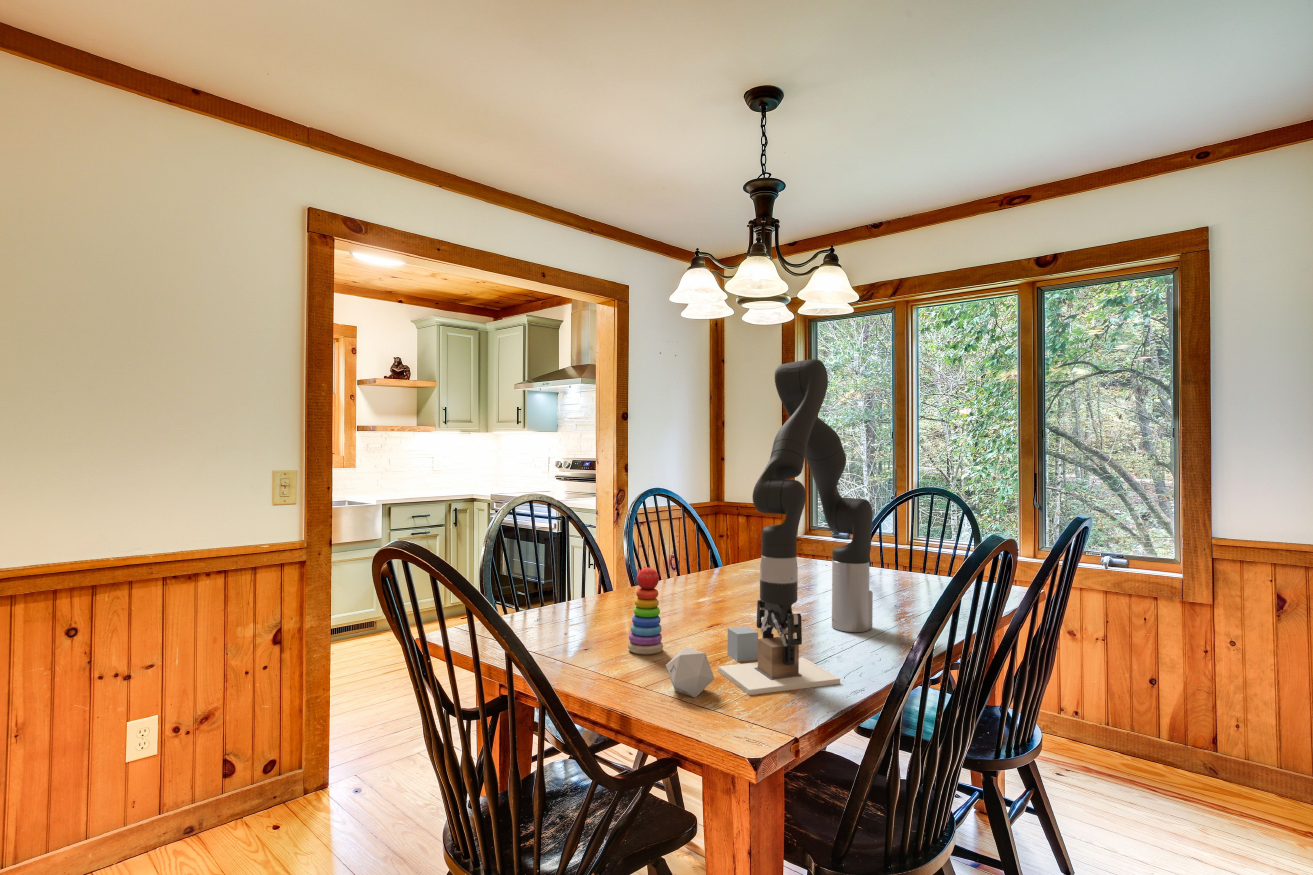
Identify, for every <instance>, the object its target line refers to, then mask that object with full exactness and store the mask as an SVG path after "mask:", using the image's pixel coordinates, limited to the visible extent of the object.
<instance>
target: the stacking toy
mask: <svg viewBox="0 0 1313 875" xmlns="http://www.w3.org/2000/svg"><path fill="white" fill-rule="evenodd" d="M659 580H660V576H659V573H658V571H656V570H655V569H654V568H652V567H644V568H641V569H640V570H639V571H638V573H637V575H636V582H637V584H638V586H639V587H640V588H638V589H637V590H636V592H635V594H636V597H637V598H635V600H634V605H635V607H634V608H633V613H634V615H633V616H632V619H631V621H632V625H631V626H630V633H629V635H628V640H629V642H628V644H627V649H628V650H629V651H630V652H631V653H633V654H637V655H643V656H645V655H646V656H647V655H655V654H659V653H660V652H661V651H662V650H663V648H664V644H663V642H662V639H663V636H662V634H661V633H662V630H663V628H662V626H661V624H660V623H661V617H660V616H659V615H660V614H661V610H660V607H659V599H658V596H659V591H658V590H657V589H656V587H657V586H658V584H659V583H660V582H659Z"/></svg>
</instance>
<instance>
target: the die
mask: <svg viewBox="0 0 1313 875" xmlns="http://www.w3.org/2000/svg"><path fill="white" fill-rule="evenodd" d="M710 664H711V663H709V659H708V657H707V654H706V652H703V651H700V650H696V649H692V648H689V647H684V648H683V649H682V650H680V652H678V653H676V655H675V656H674V657H673V658H672V659H671V660H670V661H669V662H668V663H666V664H665V667H666V670H667V673H668V676H669V678H670V681H671V684H672V687H673V690H674V691H675V692H678V693H681V694H683V695H686V696H689V697H693V698H696V697H697V696H699V695H700V694H701V693H702V692H703V690H705V689H706V688H707V687H708V686H709V685H710V684H711V683H712V682H713V681H714V680H715V676H714V673H713V671H712V667H711V665H710Z"/></svg>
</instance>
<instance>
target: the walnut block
mask: <svg viewBox="0 0 1313 875" xmlns="http://www.w3.org/2000/svg"><path fill="white" fill-rule="evenodd" d="M787 640H788V637H787ZM783 646H784V645H783V641H782V638H781V636H776V637H775V636H774V637H773V638H763V637H762V638H758V660H757V662H758V669H760V670H761V671H763V672H764V673H765V674H767V675H768V676H770V677H771V678H775V677H783V676H792V675H799V658H800V645H796V646H795V663H794V664H793V665H785V664H783Z"/></svg>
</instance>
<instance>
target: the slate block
mask: <svg viewBox="0 0 1313 875" xmlns="http://www.w3.org/2000/svg"><path fill="white" fill-rule="evenodd" d="M758 639H759V632H758V631H757V630H755V629H753V628H751V627H750V626H738V627H728V628H727V656H729V658H731V659H733V660H734V661H736V662H737V663H738V662H749V661H758Z"/></svg>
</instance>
